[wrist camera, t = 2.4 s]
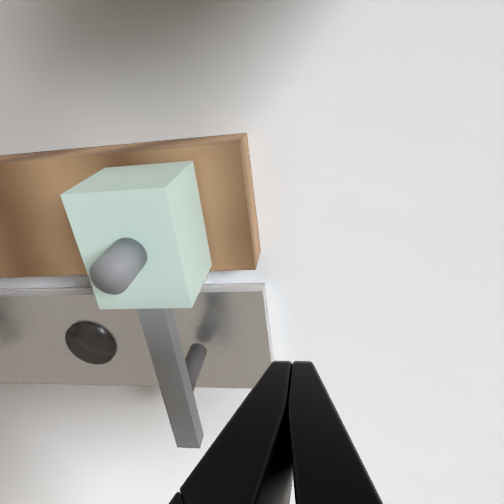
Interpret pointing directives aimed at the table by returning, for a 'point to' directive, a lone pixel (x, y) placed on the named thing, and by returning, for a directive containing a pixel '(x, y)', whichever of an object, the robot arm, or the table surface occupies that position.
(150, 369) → the bolt plate
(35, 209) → the wood and metal assembly
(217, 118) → the table surface
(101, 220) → the sliding leg
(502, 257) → the table surface
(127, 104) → the table surface
